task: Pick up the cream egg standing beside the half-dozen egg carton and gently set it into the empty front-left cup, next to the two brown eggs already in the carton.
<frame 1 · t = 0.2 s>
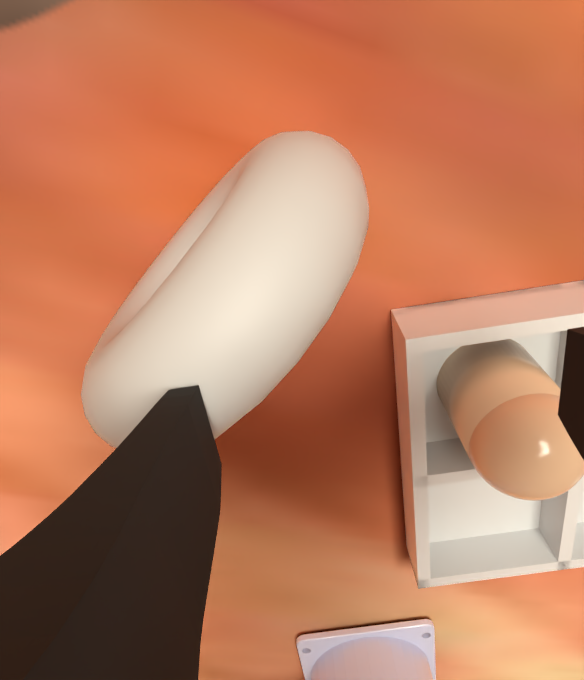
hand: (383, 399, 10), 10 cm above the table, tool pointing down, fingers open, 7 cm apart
brown egg 2: (484, 378, 22), resting on egg carton
donut: (229, 232, 19), on the table, touching gripper
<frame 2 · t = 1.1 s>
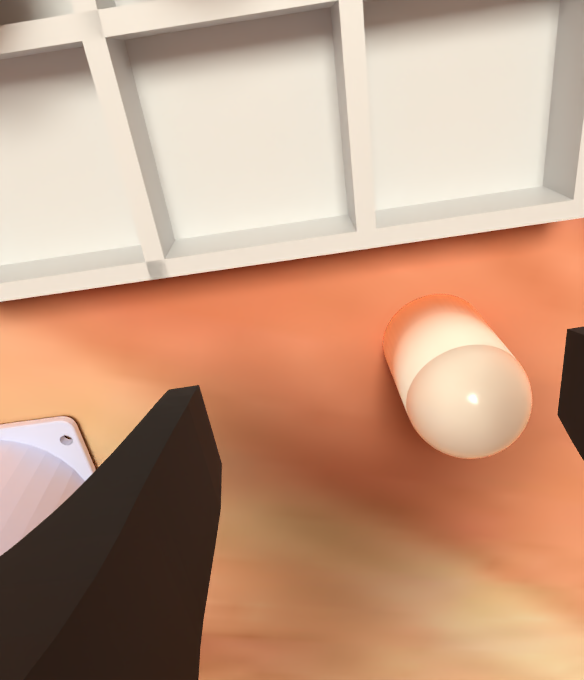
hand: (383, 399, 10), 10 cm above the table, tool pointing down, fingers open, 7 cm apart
egg carton: (225, 13, 15), on the table
cream egg: (432, 340, 21), on the table
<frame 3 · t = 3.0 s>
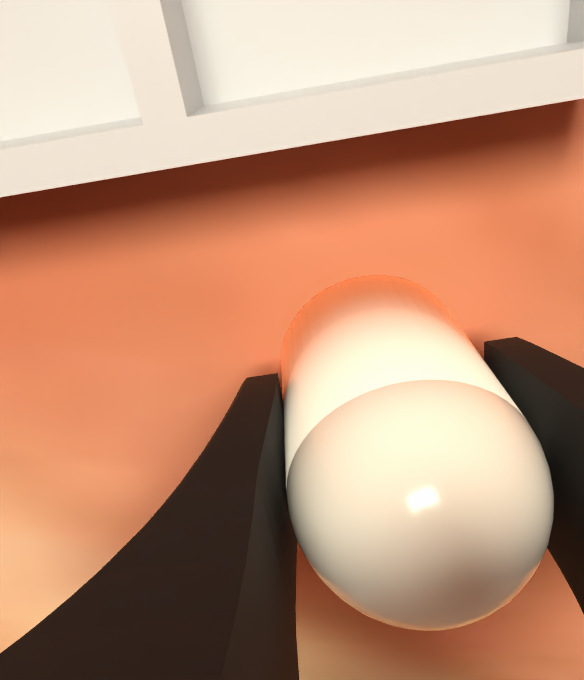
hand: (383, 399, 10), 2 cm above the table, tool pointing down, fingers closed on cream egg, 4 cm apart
cream egg: (369, 358, 12), on the table, touching gripper
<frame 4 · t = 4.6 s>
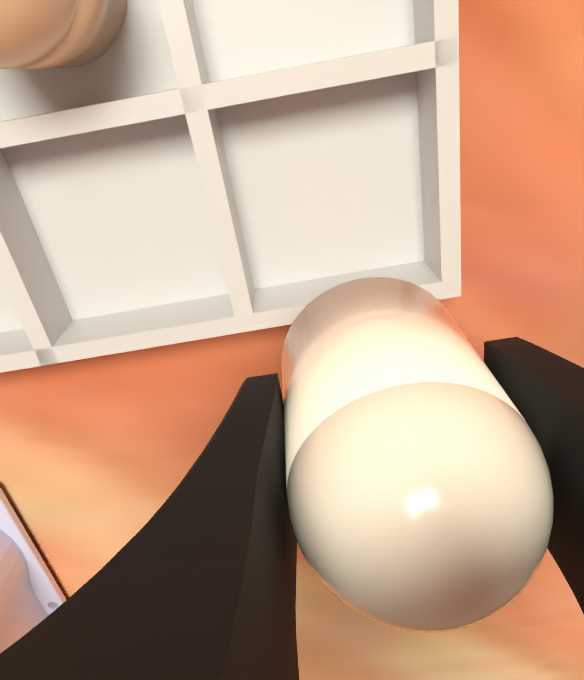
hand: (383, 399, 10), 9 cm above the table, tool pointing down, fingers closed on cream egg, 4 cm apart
egg carton: (98, 114, 16), on the table
cream egg: (369, 359, 12), point 7 cm above the table, touching gripper
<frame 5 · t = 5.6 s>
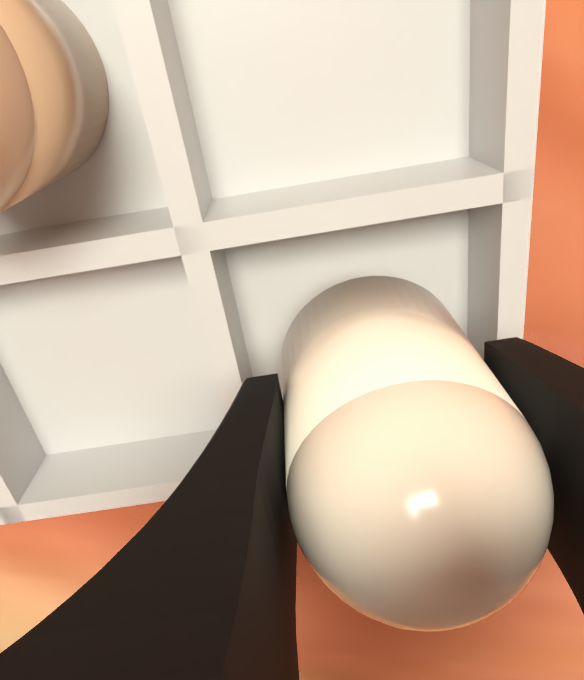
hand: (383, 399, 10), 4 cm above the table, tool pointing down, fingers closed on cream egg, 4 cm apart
egg carton: (74, 230, 13), on the table
cream egg: (369, 358, 12), point 3 cm above the table, touching gripper
brown egg 1: (11, 84, 11), resting on egg carton
when the fingers open (4 cm above the table, at t = 6.2 s): cream egg drops 1 cm, resting on egg carton.
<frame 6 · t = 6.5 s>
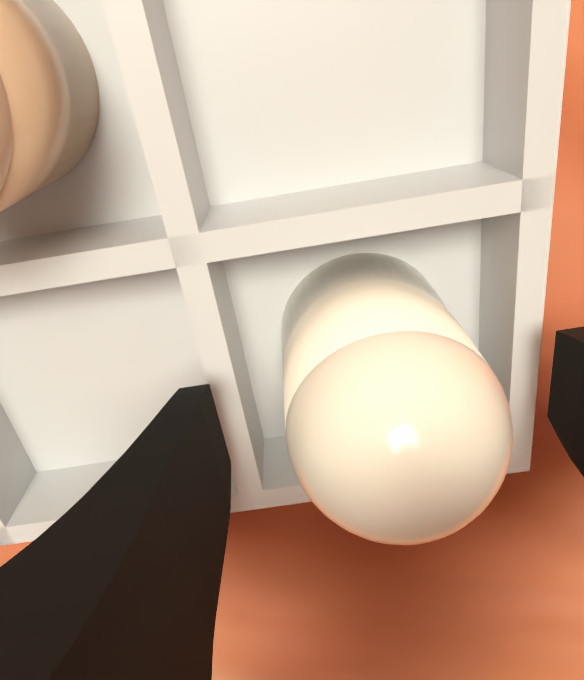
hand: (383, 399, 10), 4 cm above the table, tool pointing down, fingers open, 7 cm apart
egg carton: (64, 238, 12), on the table
cream egg: (360, 328, 13), point 1 cm above the table, touching egg carton
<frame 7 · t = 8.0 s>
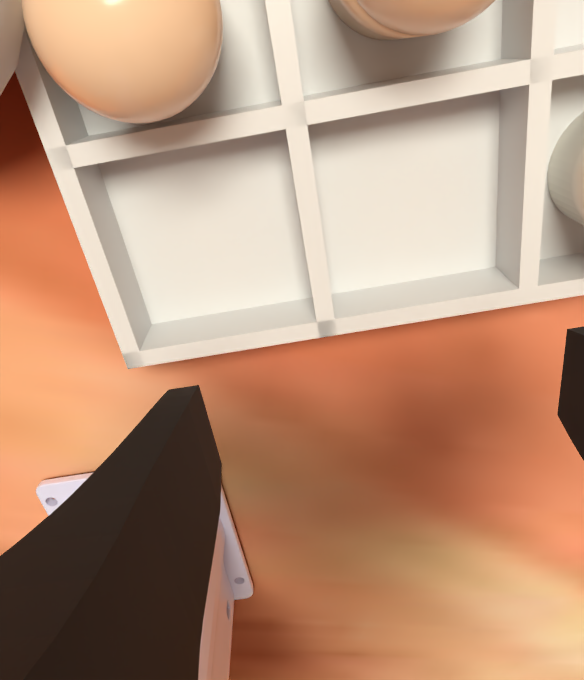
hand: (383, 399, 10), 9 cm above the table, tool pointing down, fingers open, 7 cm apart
egg carton: (396, 87, 16), on the table
brown egg 2: (147, 17, 14), point 1 cm above the table, tilted 7°, touching donut, egg carton
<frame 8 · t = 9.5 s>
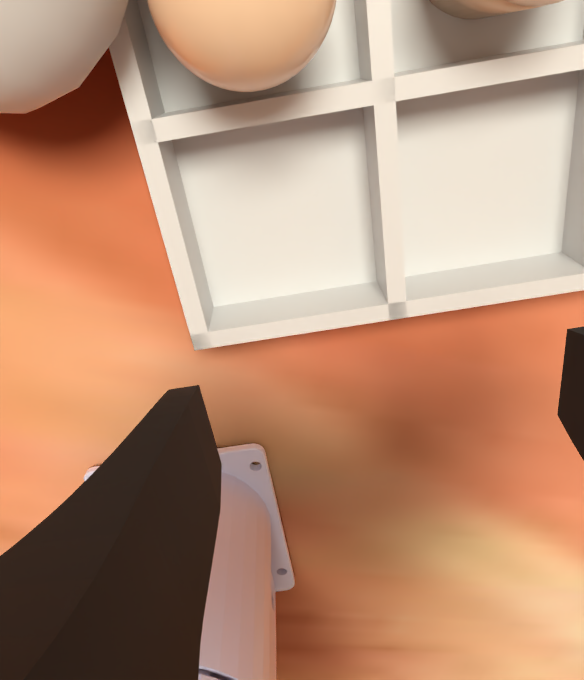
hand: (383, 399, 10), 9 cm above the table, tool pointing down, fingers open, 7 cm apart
egg carton: (474, 68, 16), on the table
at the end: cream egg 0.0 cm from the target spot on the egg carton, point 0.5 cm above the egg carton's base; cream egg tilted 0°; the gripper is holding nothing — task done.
